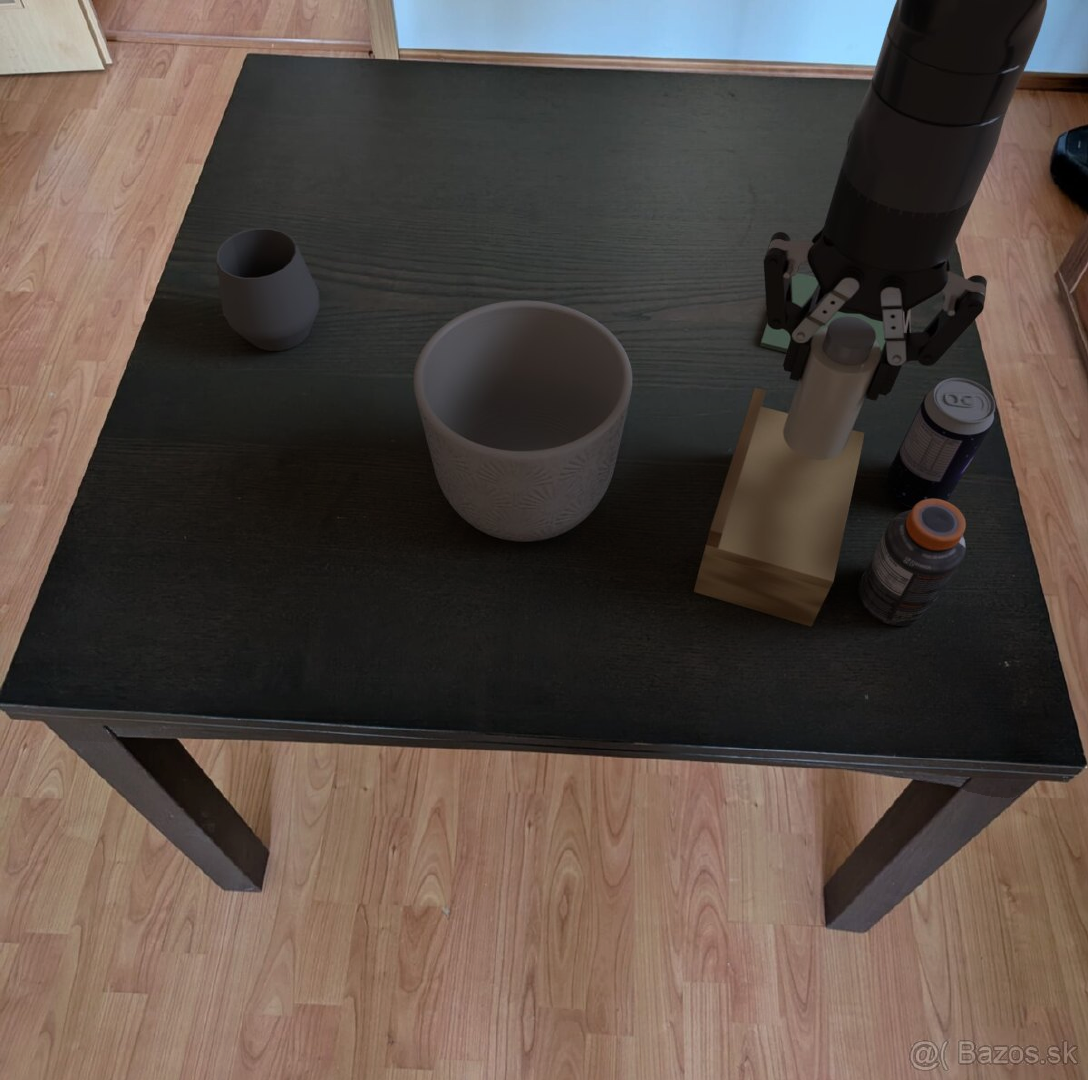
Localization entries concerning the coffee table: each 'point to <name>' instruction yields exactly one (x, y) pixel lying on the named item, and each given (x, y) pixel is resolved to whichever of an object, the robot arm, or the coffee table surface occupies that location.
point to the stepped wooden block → (778, 521)
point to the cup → (266, 288)
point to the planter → (523, 415)
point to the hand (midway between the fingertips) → (834, 381)
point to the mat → (800, 294)
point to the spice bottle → (832, 388)
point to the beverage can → (941, 441)
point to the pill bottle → (913, 562)
